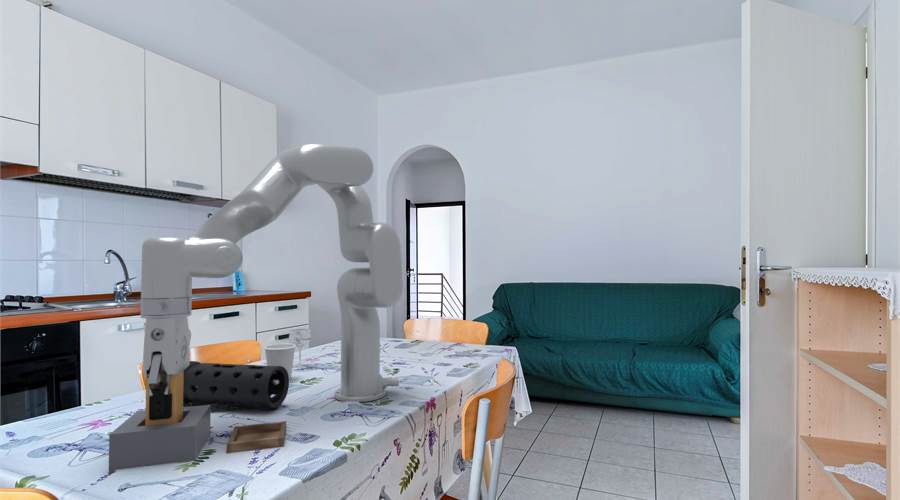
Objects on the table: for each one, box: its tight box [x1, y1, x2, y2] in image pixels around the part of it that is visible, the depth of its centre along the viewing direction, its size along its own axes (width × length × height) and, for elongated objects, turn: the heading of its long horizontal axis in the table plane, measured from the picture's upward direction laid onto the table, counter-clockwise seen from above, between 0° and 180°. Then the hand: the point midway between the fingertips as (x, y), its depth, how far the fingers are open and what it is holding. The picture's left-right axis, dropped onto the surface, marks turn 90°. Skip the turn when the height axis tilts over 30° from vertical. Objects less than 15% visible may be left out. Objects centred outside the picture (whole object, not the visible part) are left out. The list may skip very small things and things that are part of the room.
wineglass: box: [288, 328, 312, 368], centre depth 144 cm, size 7×7×12 cm
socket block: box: [108, 405, 212, 474], centre depth 78 cm, size 12×12×6 cm
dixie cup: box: [263, 342, 297, 384], centre depth 127 cm, size 8×8×10 cm
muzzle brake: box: [183, 360, 290, 411], centre depth 104 cm, size 10×28×10 cm, turn 78°
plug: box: [145, 370, 184, 426], centre depth 79 cm, size 4×4×12 cm
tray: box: [225, 420, 287, 454], centre depth 83 cm, size 9×9×2 cm
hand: (165, 413), depth 78 cm, fingers closed on plug, 4 cm apart
